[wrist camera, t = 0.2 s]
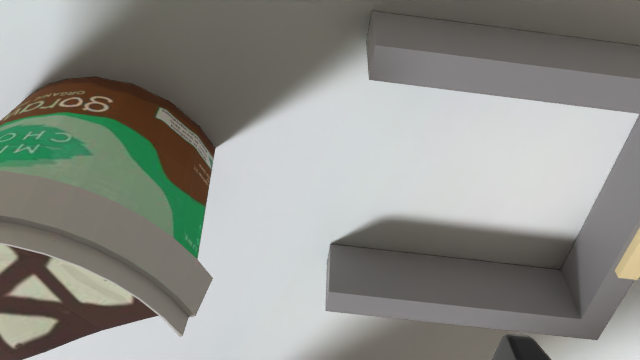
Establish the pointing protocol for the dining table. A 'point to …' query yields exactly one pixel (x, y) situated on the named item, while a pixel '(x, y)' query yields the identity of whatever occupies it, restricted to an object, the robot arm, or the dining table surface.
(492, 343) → the dining table surface
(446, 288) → the pocket bay
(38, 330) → the food container
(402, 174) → the dining table surface
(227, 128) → the dining table surface
